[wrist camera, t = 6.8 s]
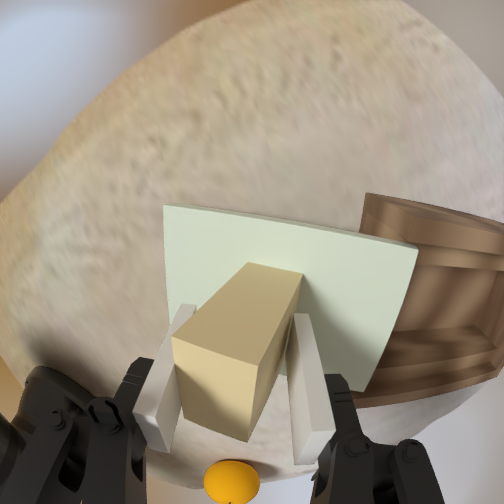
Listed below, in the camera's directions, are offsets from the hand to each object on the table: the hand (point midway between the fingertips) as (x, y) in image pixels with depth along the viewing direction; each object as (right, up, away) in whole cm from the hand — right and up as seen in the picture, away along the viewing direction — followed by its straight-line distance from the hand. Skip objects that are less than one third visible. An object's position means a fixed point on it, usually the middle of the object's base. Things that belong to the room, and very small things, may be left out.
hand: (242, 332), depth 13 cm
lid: (+2, +1, +3) cm, 3 cm away
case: (+16, +1, +6) cm, 17 cm away
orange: (-2, -27, +18) cm, 33 cm away
